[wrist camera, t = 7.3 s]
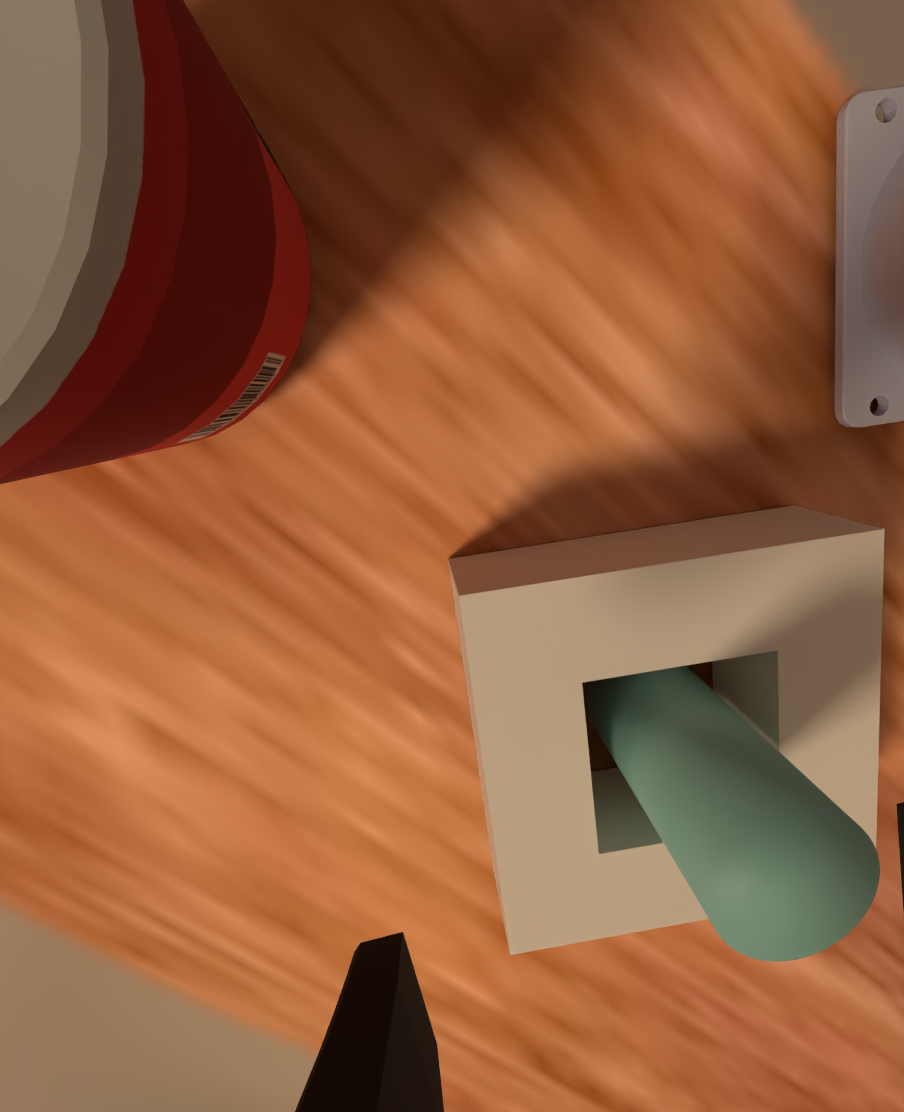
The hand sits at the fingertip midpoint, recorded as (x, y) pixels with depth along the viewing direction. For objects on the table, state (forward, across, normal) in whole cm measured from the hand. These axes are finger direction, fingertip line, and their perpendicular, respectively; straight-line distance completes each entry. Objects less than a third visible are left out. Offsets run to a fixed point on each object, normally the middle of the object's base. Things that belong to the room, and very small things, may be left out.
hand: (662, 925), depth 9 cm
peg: (+10, -3, +2) cm, 11 cm away
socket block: (+10, -3, +2) cm, 11 cm away
